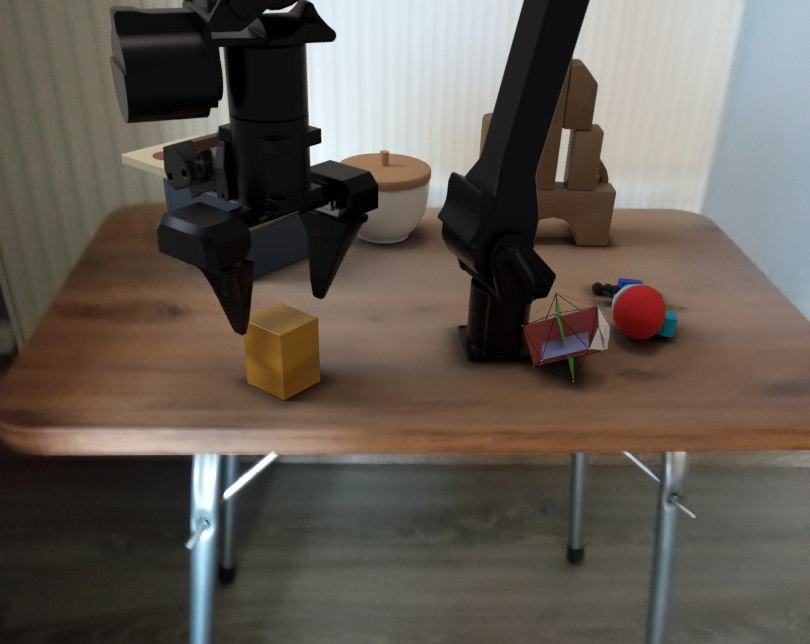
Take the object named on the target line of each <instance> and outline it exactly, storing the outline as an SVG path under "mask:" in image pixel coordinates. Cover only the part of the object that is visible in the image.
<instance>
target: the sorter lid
mask: <svg viewBox="0 0 810 644" xmlns="http://www.w3.org/2000/svg"><path fill="white" fill-rule="evenodd" d="M216 134H217V132H213V133H210V134H206V135H202V134H195V135H191V136H188V137H183V138H180V139H176V140H175V139H174V140H171V141H168V142H164V143H160V144H156V145H152V146H148V147H143V148H140V149H136V150H132V151H129V152H125V153H121V162H122V164H123V165H126V166H129V167H131V168H135V169H137V170H140V171H143V172H147V173H148V174H149V173H150V174H152V175H156V176H158V177H161V178H167V176H166V173H165V170H164V158H163V147H164V146H168V145H171V144H175V143H179V142H182V141H186V140H192V141H193V142H194V144H195V146H196V147H197V149H198V150H199V151H202V150H206V149H209V148H213V147H217V135H216Z"/></svg>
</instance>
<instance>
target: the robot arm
mask: <svg viewBox="0 0 810 644" xmlns="http://www.w3.org/2000/svg"><path fill="white" fill-rule="evenodd" d="M590 2H591V0H523V1H522V5H521V8H520V12H519V16H518V19H517V23H516V27H515V30H514V34H513V38H512V42H511V45H510V49H509V51H508V52H509V53H508V56H507V59H506V63H505V67H504V71H503V74H502V78H501V81H500V85H499V89H498V92H497V97H496V100H495V103H494V106H493V111H492V113H493V114H492V118H491V121H490V125H489V129H488V132H487V136H486V140H485V143H484V147H483V151H482V153H481V156H480V158H479V157H478V159H477V161H475V163H474V164H473V166H472V167H471V168H470V169H469V170H468V171H467V173H466V174H465V175H463V174H461V173H458V172H455V171H451V173H450V175H449V178H448V180H447V188H446V195H445V200H444V202H443V204H442V208H441V210H440V211H439V212H438V214H437V219H438V220H440V221H441V222H442V225H441V239H442V240H443V242H444V244H445V247H446V248H447V250H448V251H449V252H450V253H452V254H453V255H454V256H455V257H456V260H457V263H458V267H459V269H460V270H462V271H464V272H466V273H467V274H468V275H469V276H470V278H471V279H470V286H469V297H468V309H467V321H466V322H467V323H466V324H460V325H458V326H457V330H456V331H457V334H458V337H459V341H460V343H461V346H462V348H463V351H464V354H465V356H466V359H467V360H468V361H509V360H510V361H511V360H514V361H515V360H532V358H531V355H530V351H529V348H528V344H527V341H526V337H525V334H524V330H523V327H522V325H525V324H528V323H530V319H531V317H530V316H531V310H532V304H533V303H534V301H536V300H540V299H546V298H547V297H548V296H549V294H550V292H551V290H552V288H553V286H554V283H555V281H556V280H557V279H556V278H557V274H556V273H555V272H554V271H553V270H552V268H551V267H550V266H549V265H548V264H547V263H546V262H545V261H544V260H543V258H542V257H541V256H540V255H539V254H538V252H537V251H536V250H535V244H536V239H537V234H538V227H539V222H540V221H539V204H538V194H537V183H536V175H537V170H538V166H539V163H540V160H541V157H542V153H543V150H544V147H545V144H546V140H547V137H548V134H549V131H550V127H551V124H552V121H553V118H554V115H555V111H556V108H557V105H558V102H559V98H560V95H561V92H562V89H563V85H564V82H565V79H566V76H567V73H568V69H569V66H570V63H571V60H572V56H573V57H574V53H575V51H576V47H577V43H578V40H579V37H580V34H581V30H582V28H583V24H584V21H585V18H586V14H587V11H588V9H589V5H590ZM181 6H182V7H159V8H158V7H157V8H156V7H155V8H154V7H153V8H140V7H136V6H132V5H112V6H110V8H109V10H108V11H109V18H110V19H109V20H110V26H111V28H110V47H111V54H112V56H109V64H110V69H111V75H112V80H113V86H114V90H115V94H116V99H117V103H118V107H119V110H120V114H121V117H122V119H123V121H124V123H125V124H138V123H152V122H164V121H165V122H167V121H179V120H194V119H203V118H204V119H205V118H207V119H208V118H209V117H210V115H211V111H212V110H211V109H219V102H221V101H222V100H223V98H224V97H223V96H224V74H223V73H224V72H225V83H226V84H225V85H226V97H227V107H228V109H227V110H228V120H229V123H224V124H221V125H220V124H219V125H218V126H217V128H218V129H217V131H216V133H217V134H216V135H217V147H213V148H209V149H206V150H202V151H199V150H198V149H197V147H196V146H195V144H194V142H193V141H192V140H186V141H182V142H179V143H175V144H171V145H168V146H164V147H163V158H164V170H165V173H166V176H167V179H168V182H169V185H170V186H171V187H172V188H173V189H174V190H180V189H184V188H188V190H189V193H190V196H191V198H196V197H199V196H200V195H202V193H206V192H211V191H215V190H217V198H219V199H222V200H225V201H231V200H234V201H237V206H238V208H236V209H233V210H230V211H225V210H222V209H219V208H216V207H213V206H211V205H208V204H205V203H202V202H197V203H194V204H190V205H187V206H184V207H181V208H178V209H175V210H172V211H169V212H167V211H166V212H163V213H162V214H161V216H160V218H159V219H158V221H157V222H156V236H157V243H158V250H159V252H160V253H162V254H165V255H167V256H170V257H172V258H174V259H177V260H178V261H181V262H184V263H186V264H188V265H191V266H194V267H196V268H197V269H198V270H200V272H201V273H202V274H203V276H204V277H205V280H206V281H207V282H208V283H209V285H210V287H211V289H212V290H213V292H214V295H215V296H216V299H217V300H218V302H219V304H220V306H221V308H222V310H223V312H224V314H225V316H226V318H227V320H228V322H229V325H230V327H231V329H232V330H233V332H234V333H235V334H237V335H240V336H243V335H245V334H246V333H247V329H248V324H249V319H250V316H251V309H252V298H253V289H254V279H255V278H254V270H255V261H254V260H252V259H249V258H246V257H247V255H248V253H249V251H250V249H251V247H252V242H251V233H252V232H254V231H257V230H260V229H263V228H265V227H268V226H271V225H274V224H276V223H279V222H282V221H285V220H287V219H290V218H293V217H296V216H298V215H299V217H300V219H301V221H302V223H303V225H304V227H305V229H306V232H307V244H308V256H307V257H308V270H309V281H310V288H311V292H312V296H313V297H314V298H316V299H318V300H323V299H325V297H326V296H327V294H328V292H329V290H330V289H331V286H332V283H333V282H334V280H335V277H336V275H337V273H338V271H339V269H340V267H341V264H342V263H343V260H344V259H345V257H346V255H347V253H348V251H349V249H350V247H351V245H352V244H353V241H354V240H355V238H356V237H357V236H358V235H357V233H358V231H359V229H360V228H361V226H362V224H363V223H366V222H367V221H368V214H366V213H367V212H370V211H372V210H375V209H377V208H378V195H379V185H378V183H377V182H376V180H375V179H374V177H373V175H372V174H371V172H370V171H367V170H364V169H360V168H357V167H353V166H350V165H346V164H343V163H340V161H335V160H332V159H328V160H326V161H322V162H319V163H317V164H313V165H311V147H313V146H317V145H320V144H322V128H320V127H316V126H313V125H310V111H309V110H310V109H309V84H308V83H309V81H308V55H307V54H308V51H307V44H319V43H320V44H321V43H323V44H324V43H333V42H335V41H336V39H337V31H335V30H334V29H333V28H332V27H331V26H330V25H329V24H328V23H327V22H326V21H325V20H324V19H323V18H322V17H321V15H320V14H319V12H318V11H317V8H316V7H315V4H314V3H313V2H312V1H310V0H182V3H181ZM292 6H293V7H292ZM289 7H292V8H291V9H290V10H288V11H285V12H266V11H267V10H268V11H281V10H283V9H286V8H289ZM220 48H222V49H223V59H224V60H223V61H224V72H223V65H222V59H221V51H220Z"/></svg>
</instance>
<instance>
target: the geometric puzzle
mask: <svg viewBox="0 0 810 644" xmlns="http://www.w3.org/2000/svg"><path fill="white" fill-rule="evenodd" d="M558 296H559V297H560V298H561V299H563V300H564V301H566V302H567V303H569V304H570V305H572V306H573V307H574V308H575V309H573V310H566V311H562V310H561V306H560V301H559V298H558ZM565 297H566V298H570V299H572V300H575V301H579V302H582V303H583V301H582V300H579V299H576V298H572V297H569V296H566V295H565ZM554 301H555V312H554V313H552V314H550V311H551V309H552V306H553V304H554ZM590 305H592V307H585V308H580V309H579V307H578V306H576V305H575V304H573V303H572V302H570V301H568V300H567V299H565V298H564V296H562V295H561V294H559V293H558V292H555V294H554V296H553V298H552V302H551V304H550V306H549V309H548V311H547V314H546V316H544V317H542V318H539V319H536V320H533V321H530V322H529V323H528V324H525V325H522V327H523V330H524V334H525V337H526V341H527V344H528V348H529V351H530V355H531V358H532V359H531V361H532V367H533V368H536V369H540V370H542V371H546V372H548V373H551V374H553V375H556V376H559V377H561V378H564V379H567V380H569V381H571V382H573V383H574V382H575V381H576V379H577V377H578V373H579V371H580V370H581V367H582V365H583V363H584V361H585V359H586V357H587V356H589V355H593V354H595V353H599V352H602V354H604V353H605V352H606V351H607V350H609V340H610V328H611V327H610V324H609V322H608V321H607V319H606V318H605V316H604V315H603V313H602V311H601V309H600V307H599V305H595V304H591V303H590ZM542 308H543V306H541V307H539V309H538V310H537V311H536V312H535V313H534V314H533V315H532V316H531V318H533V316H535V315H536V314H537V313H539V311H540V310H541V309H542ZM563 313H567V314H563ZM549 314H550V315H549ZM552 316H554V317H552ZM549 317H552V318H549ZM548 318H549V319H548ZM582 357H584V358H583V360H582V362H581V365H580V366H579V368H578V370H577V372H576V374H575V360H576V359H581V358H582ZM567 361H568V365H569V368H570V373H571V376H572V379H571V378H570V377H569V376H567V375H565V374H564V373H562V372H561V371H559V370H558V369H557V368H555V367H553V366H552V364H558V363H562V362H567ZM546 365H547V366H548V367H550V368H552V369H553V370H555V371H556V372H558V373H560V374H562V375H559V374H556V373H554V372H551V371H548V370H545V369H543V368H541V367H540V366H546ZM588 368H589V366H587V368H585V369H584V370H583V371H582V372H581V373H580V375H582V374H583V373H584V372H585V371H586V370H587V369H588ZM563 375H564V376H563Z"/></svg>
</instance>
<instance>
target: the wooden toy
mask: <svg viewBox="0 0 810 644" xmlns="http://www.w3.org/2000/svg"><path fill="white" fill-rule="evenodd" d="M598 89H599V82H598V81H597V80H596V79H595V77H594V75H593V74H592V73H591V70H589V68H588V67H587V65H586V64H585V63H584V62H583V60H581V59H580V58H574V55H573V56H572V60H571V63H570V66H569V69H568V73H567V76H566V79H565V82H564V85H563V89H562V92H561V95H560V98H559V102H558V105H557V108H556V111H555V115H554V118H553V121H552V124H551V127H550V131H549V134H548V137H547V140H546V144H545V147H544V150H543V153H542V157H541V160H540V163H539V166H538V170H537V175H536V183H537V194H538V204H539V222H540V221H541V220H548V219H558V220H562V221H564V222H565V223H567V224H568V228H569V230H570V232H571V236H572V238H573V240H574V241H575V244H576V246H582V247H583V246H585V247H586V246H587V247H588V246H589V247H590V246H591V247H606V246H607V245H608V241H609V235H610V231H611V226H612V219H613V213H614V208H615V204H616V197H617V191H616V189H615V187H614V185H613V184H612V183H611V182H609V174H608V170H607V168H606V166H605V164H604V162H603V160H602V158H601V156H602V155H601V154H602V148H603V143H604V137H605V131H604V129H603V128H602V127H601V125H600V124H598V123H594V115H595V108H596V102H597V96H598ZM492 114H493V112H488V113H485V114H483V116H482V118H481V129H480V141H479V154H478V159H479V158H480V156H481V153H482V151H483V147H484V143H485V140H486V136H487V132H488V129H489V125H490V121H491V118H492ZM563 130H569V137H568V145H567V152H566V158H565V165H564V173H563V181H556V179H557V171H558V165H559V156H560V150H561V141H562V134H563Z"/></svg>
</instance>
